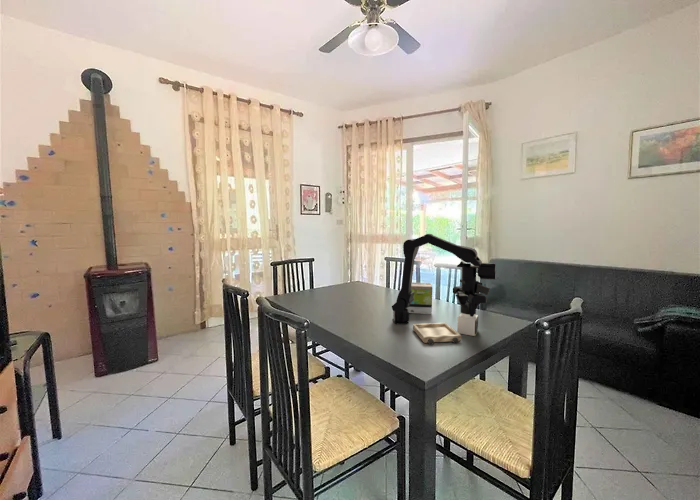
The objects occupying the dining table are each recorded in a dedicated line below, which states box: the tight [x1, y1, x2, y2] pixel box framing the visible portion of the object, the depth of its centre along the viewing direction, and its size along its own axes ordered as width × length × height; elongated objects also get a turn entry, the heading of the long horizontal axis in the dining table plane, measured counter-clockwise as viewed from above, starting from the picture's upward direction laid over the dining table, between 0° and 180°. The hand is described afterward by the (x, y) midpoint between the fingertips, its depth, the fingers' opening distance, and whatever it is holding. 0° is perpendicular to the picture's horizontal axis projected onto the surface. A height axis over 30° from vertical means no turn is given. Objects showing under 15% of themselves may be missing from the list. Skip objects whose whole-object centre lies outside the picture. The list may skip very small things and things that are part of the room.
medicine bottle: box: [456, 304, 479, 337], centre depth 129 cm, size 7×7×12 cm
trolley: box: [412, 322, 462, 345], centre depth 126 cm, size 15×17×3 cm
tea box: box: [407, 282, 433, 315], centre depth 160 cm, size 15×10×15 cm, turn 82°
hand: (468, 314), depth 129 cm, fingers closed on medicine bottle, 6 cm apart
